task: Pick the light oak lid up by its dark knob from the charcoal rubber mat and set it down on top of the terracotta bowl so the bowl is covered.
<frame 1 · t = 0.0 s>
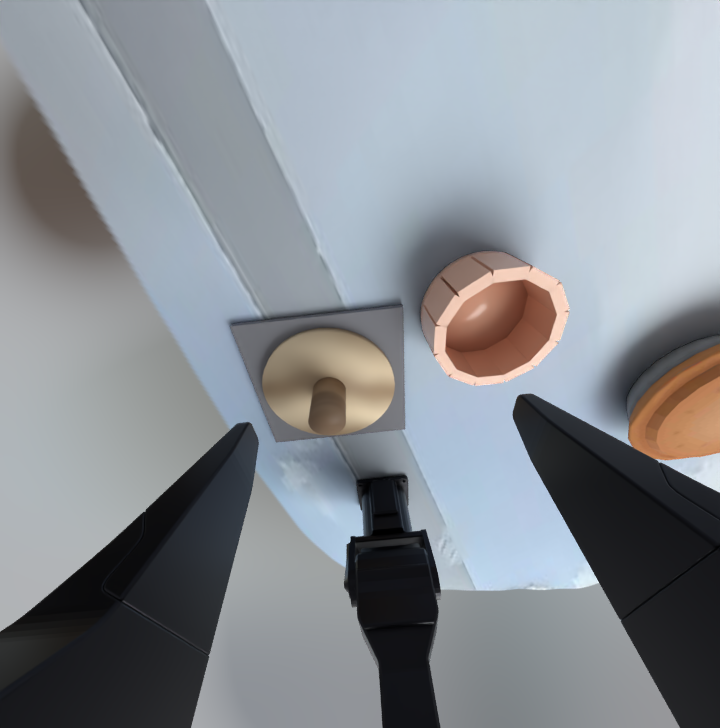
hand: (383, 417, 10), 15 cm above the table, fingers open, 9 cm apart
pie: (682, 380, 29), on the table
rubber mat: (330, 381, 27), on the table
oak lid: (329, 384, 27), resting on rubber mat
terracotta bowl: (474, 308, 23), on the table
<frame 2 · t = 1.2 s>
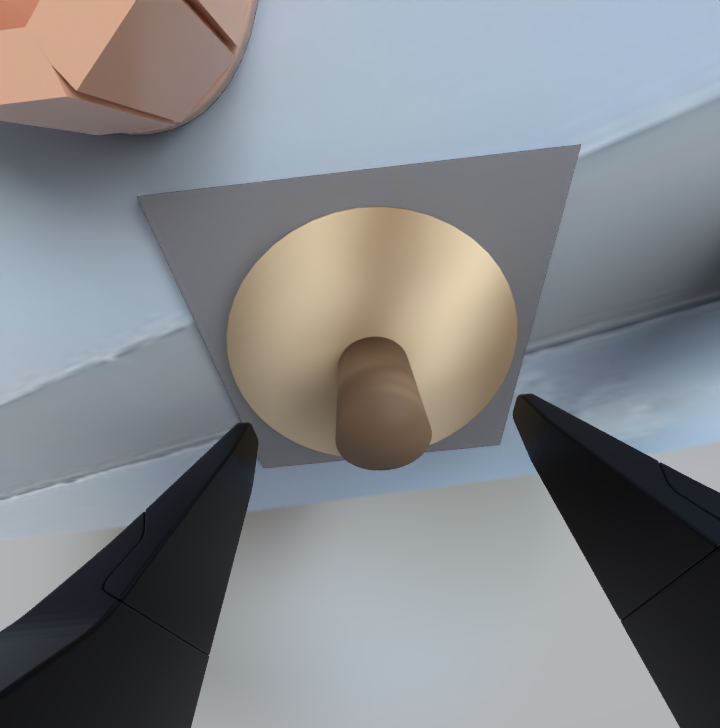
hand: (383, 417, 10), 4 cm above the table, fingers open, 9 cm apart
rubber mat: (371, 351, 13), on the table
oak lid: (372, 357, 13), resting on rubber mat
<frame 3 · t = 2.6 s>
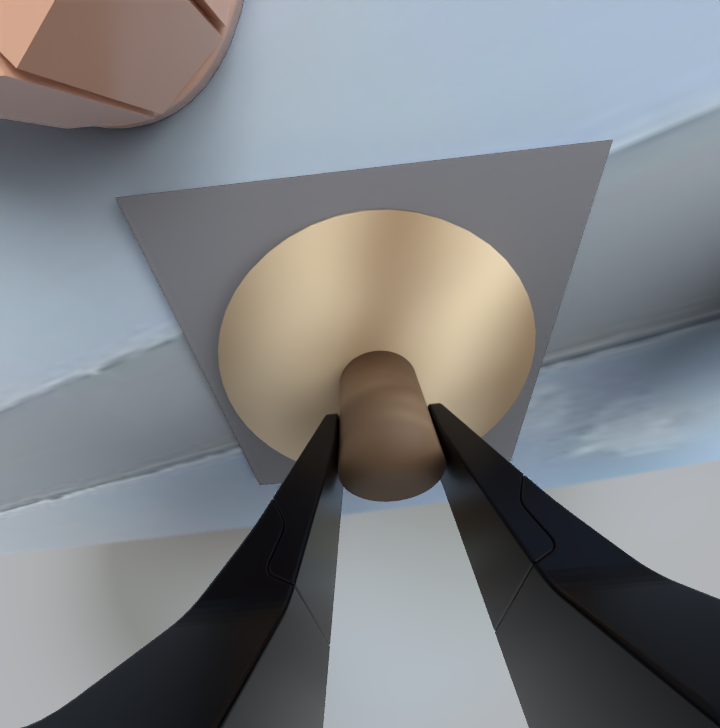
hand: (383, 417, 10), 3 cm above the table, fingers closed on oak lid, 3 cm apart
rubber mat: (375, 364, 12), on the table
oak lid: (376, 371, 12), resting on rubber mat, touching gripper
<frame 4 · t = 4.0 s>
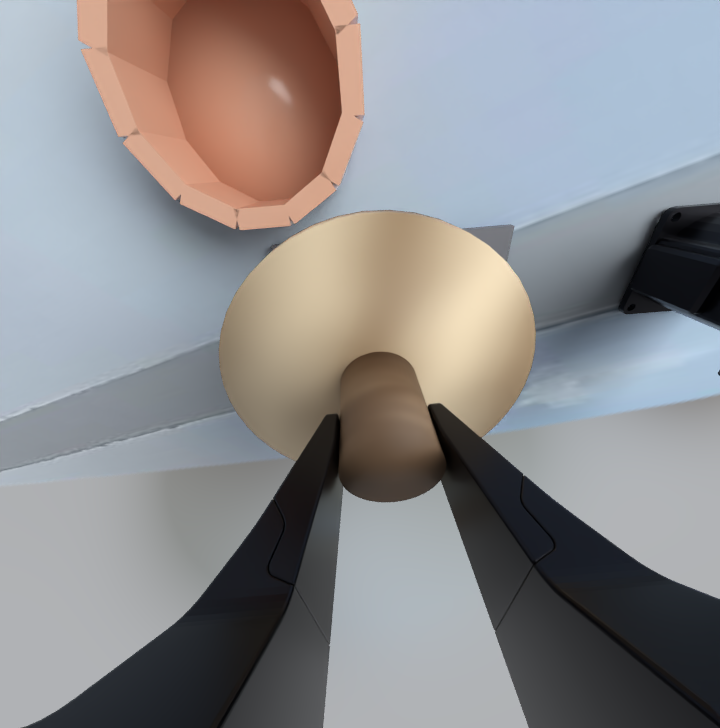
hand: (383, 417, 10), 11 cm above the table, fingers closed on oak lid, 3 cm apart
rubber mat: (392, 338, 21), on the table
oak lid: (376, 372, 12), point 8 cm above the table, touching gripper
terracotta bowl: (263, 108, 13), on the table
when the fingers open (8 cm above the table, at t = 5.6 s): oak lid drops 1 cm, resting on terracotta bowl.
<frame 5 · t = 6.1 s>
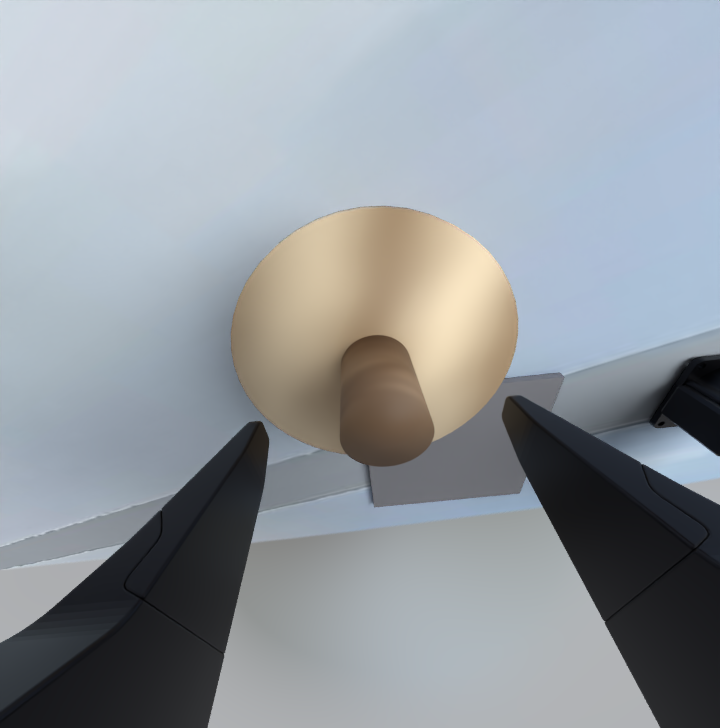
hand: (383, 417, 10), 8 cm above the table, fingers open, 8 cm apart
rubber mat: (450, 448, 24), on the table
oak lid: (374, 355, 13), point 4 cm above the table, touching terracotta bowl
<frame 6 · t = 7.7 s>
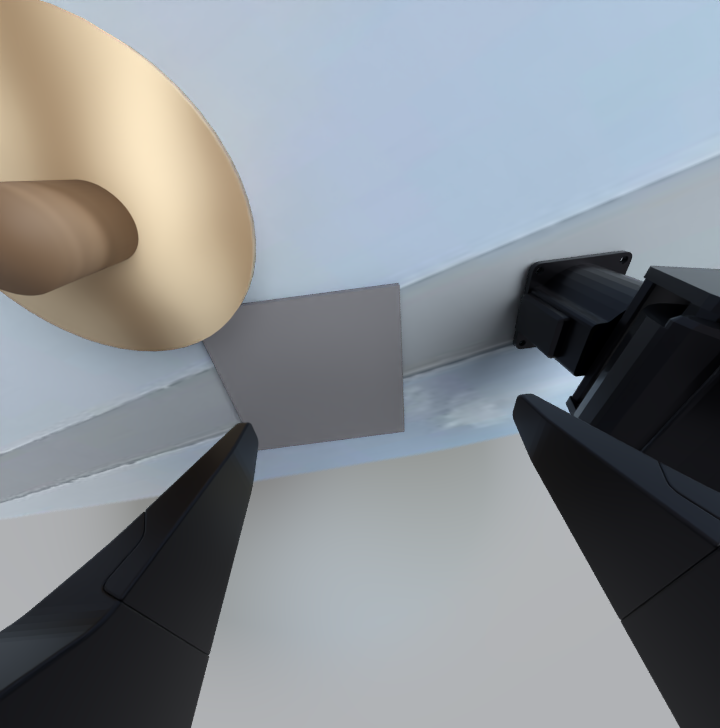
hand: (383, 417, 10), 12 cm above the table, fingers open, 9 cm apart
rubber mat: (315, 378, 23), on the table
oak lid: (109, 221, 12), point 4 cm above the table, touching terracotta bowl
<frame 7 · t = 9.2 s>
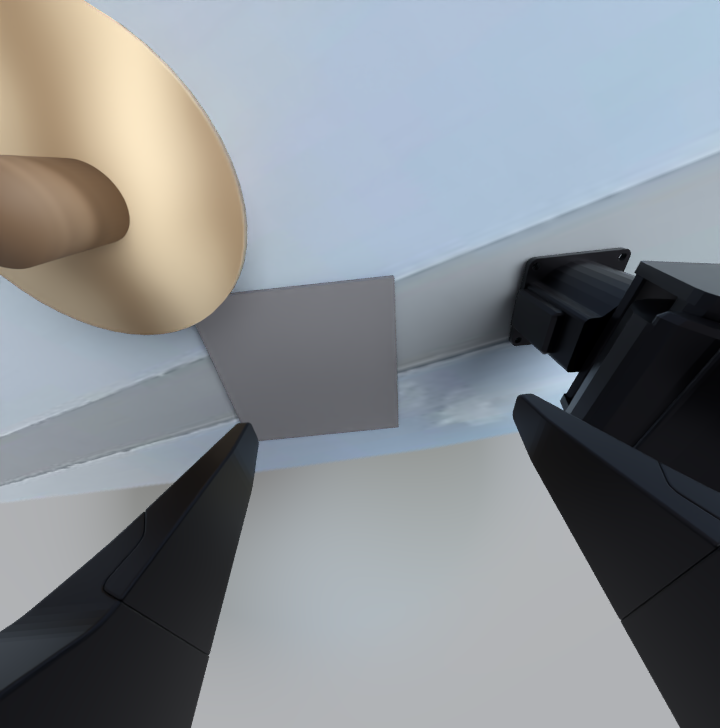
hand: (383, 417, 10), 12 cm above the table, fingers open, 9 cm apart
rubber mat: (309, 370, 23), on the table
oak lid: (102, 202, 12), point 4 cm above the table, touching terracotta bowl
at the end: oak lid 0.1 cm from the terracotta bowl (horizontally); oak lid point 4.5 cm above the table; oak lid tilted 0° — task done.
